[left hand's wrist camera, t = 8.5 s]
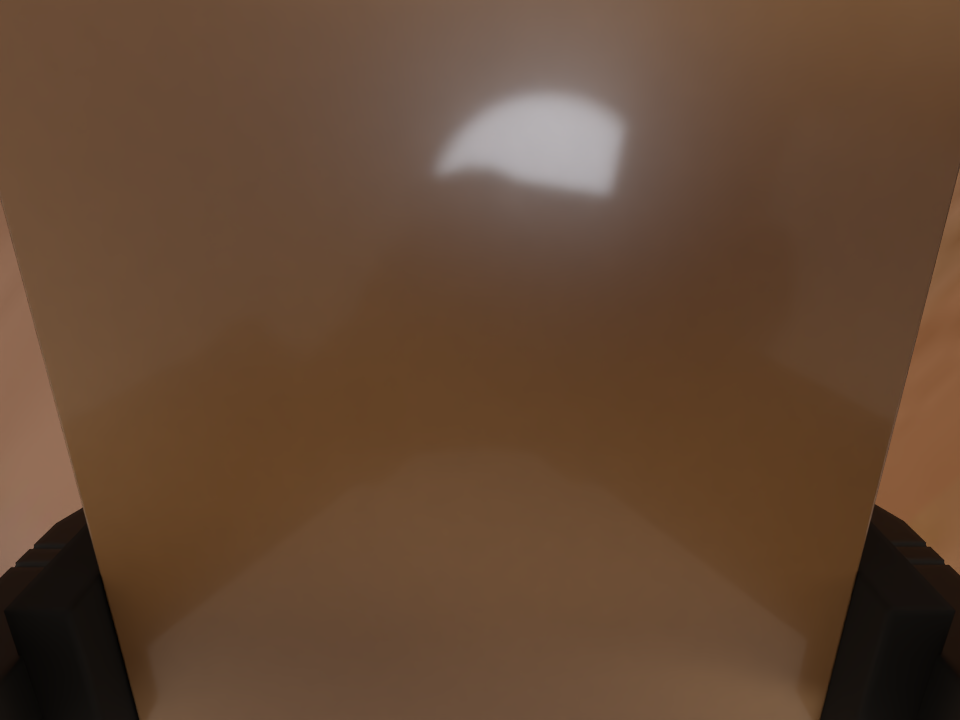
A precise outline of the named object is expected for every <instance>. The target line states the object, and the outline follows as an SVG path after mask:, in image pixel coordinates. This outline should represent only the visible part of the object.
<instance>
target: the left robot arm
mask: <svg viewBox="0 0 960 720" xmlns="http://www.w3.org/2000/svg"><path fill="white" fill-rule="evenodd" d="M0 720H139V717H138V713H137V709H136V705H135V702H134V698H133V694H132V690H131V686H130V683H129V679H128V675H127V671H126V668H125V664H124V660H123V656H122V653H121V649H120V645H119V641H118V638H117V634H116V630H115V626H114V623H113V619H112V615H111V611H110V608H109V604H108V600H107V596H106V593H105V589H104V585H103V581H102V578H101V574H100V570H99V566H98V563H97V559H96V555H95V551H94V548H93V544H92V540H91V536H90V533H89V529H88V525H87V521H86V518H85V514H84V510H83V508H81V509H80V510H78V511H76V512H75V513H73V514H71V515H69V516H68V517H66V518H64V519H63V520H61V521H59V522H58V523H56V524H55V525H54V526H53V527H52V528H51V529H50V530H49V531H48V532H47V533H46V534H45V535H44V536H43V537H42V538H40V539H39V540H38V541H37V542H36V543H35V544H34V549H29V550H28V551H27V552H26V553H25V554H24V555H23V556H22V557H21V558H20V559H19V560H18V561H17V562H16V566H15V567H11V568H10V569H9V570H8V571H7V572H6V573H5V574H4V575H3V576H2V577H1V578H0ZM820 720H960V575H959V574H958V573H957V572H956V571H955V570H954V569H953V568H952V567H951V566H950V565H945V563H944V560H943V559H942V558H941V557H940V556H939V555H938V554H937V553H936V552H935V551H934V550H933V549H932V548H931V547H927V546H926V542H925V541H924V540H923V539H922V538H921V537H920V536H919V535H918V534H917V533H916V532H915V531H914V530H912V529H911V528H910V527H909V526H908V525H907V524H906V523H905V522H904V521H903V520H901V519H899V518H898V517H896V516H894V515H892V514H891V513H889V512H887V511H886V510H884V509H882V508H881V507H879V506H877V505H874V509H873V513H872V517H871V520H870V524H869V528H868V532H867V536H866V540H865V544H864V548H863V552H862V556H861V560H860V564H859V568H858V572H857V576H856V580H855V584H854V588H853V592H852V596H851V600H850V604H849V608H848V612H847V616H846V620H845V624H844V628H843V632H842V635H841V639H840V643H839V647H838V651H837V655H836V659H835V663H834V667H833V671H832V675H831V679H830V683H829V687H828V691H827V695H826V699H825V703H824V707H823V710H822V714H821V718H820Z"/></svg>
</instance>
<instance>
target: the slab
mask: <svg viewBox="0 0 960 720" xmlns="http://www.w3.org/2000/svg"><path fill="white" fill-rule="evenodd" d="M959 168H960V0H0V198H1V202H2V206H3V210H4V213H5V217H6V221H7V225H8V228H9V232H10V236H11V240H12V243H13V247H14V251H15V255H16V258H17V262H18V266H19V270H20V273H21V277H22V281H23V285H24V288H25V292H26V296H27V300H28V303H29V307H30V311H31V315H32V318H33V322H34V326H35V330H36V334H37V337H38V341H39V345H40V349H41V352H42V356H43V360H44V364H45V367H46V371H47V375H48V379H49V382H50V386H51V390H52V394H53V397H54V401H55V405H56V409H57V412H58V416H59V420H60V424H61V427H62V431H63V435H64V439H65V442H66V446H67V450H68V454H69V457H70V461H71V465H72V469H73V472H74V476H75V480H76V484H77V487H78V491H79V495H80V499H81V502H82V506H83V510H84V514H85V518H86V521H87V525H88V529H89V533H90V536H91V540H92V544H93V548H94V551H95V555H96V559H97V563H98V566H99V570H100V574H101V578H102V581H103V585H104V589H105V593H106V596H107V600H108V604H109V608H110V611H111V615H112V619H113V623H114V626H115V630H116V634H117V638H118V641H119V645H120V649H121V653H122V656H123V660H124V664H125V668H126V671H127V675H128V679H129V683H130V686H131V690H132V694H133V698H134V702H135V705H136V709H137V713H138V717H139V720H820V718H821V714H822V710H823V707H824V703H825V699H826V695H827V691H828V687H829V683H830V679H831V675H832V671H833V667H834V663H835V659H836V655H837V651H838V647H839V643H840V639H841V635H842V632H843V628H844V624H845V620H846V616H847V612H848V608H849V604H850V600H851V596H852V592H853V588H854V584H855V580H856V576H857V572H858V568H859V564H860V560H861V556H862V552H863V548H864V544H865V540H866V536H867V532H868V528H869V524H870V520H871V517H872V513H873V509H874V505H875V501H876V497H877V493H878V489H879V485H880V481H881V477H882V473H883V469H884V465H885V461H886V457H887V453H888V449H889V445H890V441H891V437H892V433H893V429H894V425H895V421H896V417H897V413H898V409H899V405H900V402H901V398H902V394H903V390H904V386H905V382H906V378H907V374H908V370H909V366H910V362H911V358H912V354H913V350H914V346H915V342H916V338H917V334H918V330H919V326H920V322H921V318H922V314H923V310H924V306H925V302H926V298H927V294H928V290H929V287H930V283H931V279H932V275H933V271H934V267H935V263H936V259H937V255H938V251H939V247H940V243H941V239H942V235H943V231H944V227H945V223H946V219H947V215H948V211H949V207H950V203H951V199H952V195H953V191H954V187H955V183H956V179H957V175H958V172H959Z"/></svg>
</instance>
